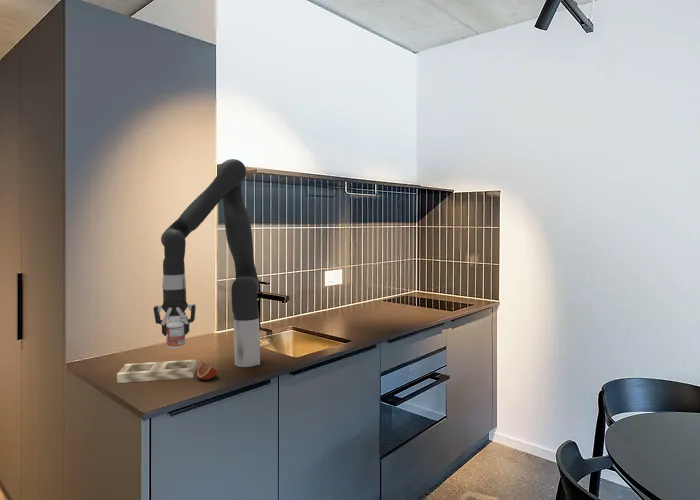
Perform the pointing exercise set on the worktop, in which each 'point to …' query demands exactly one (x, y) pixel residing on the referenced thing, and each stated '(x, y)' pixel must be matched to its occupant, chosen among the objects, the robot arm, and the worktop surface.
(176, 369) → the rail
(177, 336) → the pill bottle
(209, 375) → the fruit slice
